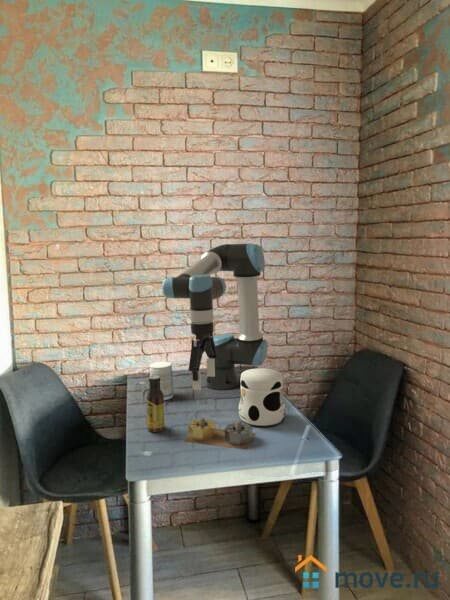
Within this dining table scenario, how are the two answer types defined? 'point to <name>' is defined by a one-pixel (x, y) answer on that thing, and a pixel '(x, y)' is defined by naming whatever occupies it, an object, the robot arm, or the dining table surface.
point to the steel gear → (238, 434)
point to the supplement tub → (164, 377)
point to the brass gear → (202, 430)
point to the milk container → (261, 397)
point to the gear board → (219, 437)
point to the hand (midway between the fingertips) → (204, 382)
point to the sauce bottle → (155, 405)
